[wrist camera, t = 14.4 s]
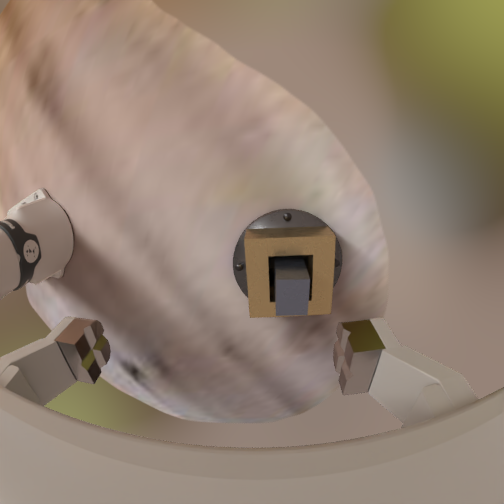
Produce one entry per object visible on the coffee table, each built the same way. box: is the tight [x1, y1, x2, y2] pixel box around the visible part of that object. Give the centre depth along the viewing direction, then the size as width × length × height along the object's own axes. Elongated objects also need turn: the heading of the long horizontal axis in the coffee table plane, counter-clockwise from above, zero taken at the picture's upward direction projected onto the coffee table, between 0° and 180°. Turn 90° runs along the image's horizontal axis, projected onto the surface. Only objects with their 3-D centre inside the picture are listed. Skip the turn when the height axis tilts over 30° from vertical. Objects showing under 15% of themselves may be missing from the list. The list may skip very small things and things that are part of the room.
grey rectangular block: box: [274, 255, 310, 316], centre depth 37 cm, size 4×5×10 cm
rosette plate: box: [233, 209, 342, 318], centre depth 40 cm, size 17×17×6 cm
